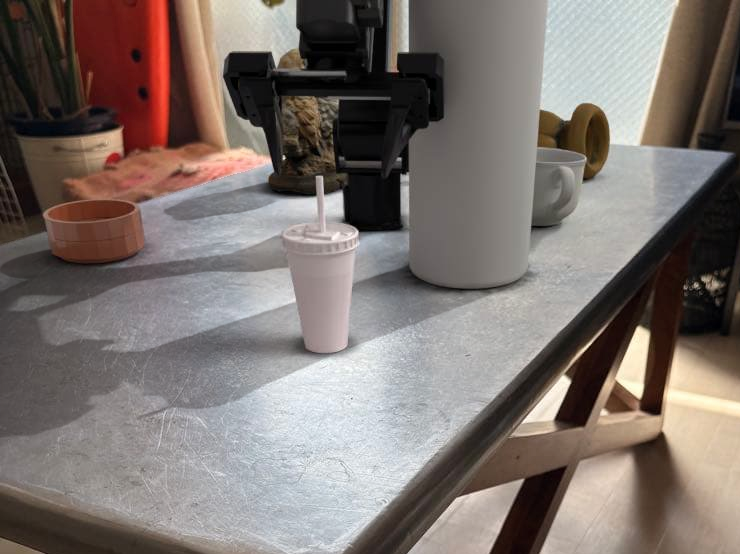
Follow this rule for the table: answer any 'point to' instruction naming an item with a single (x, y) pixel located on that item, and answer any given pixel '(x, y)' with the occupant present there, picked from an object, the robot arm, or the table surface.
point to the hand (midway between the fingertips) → (330, 174)
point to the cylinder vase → (477, 141)
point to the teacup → (556, 185)
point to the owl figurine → (306, 139)
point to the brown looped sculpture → (578, 135)
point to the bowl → (95, 230)
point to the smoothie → (322, 277)
